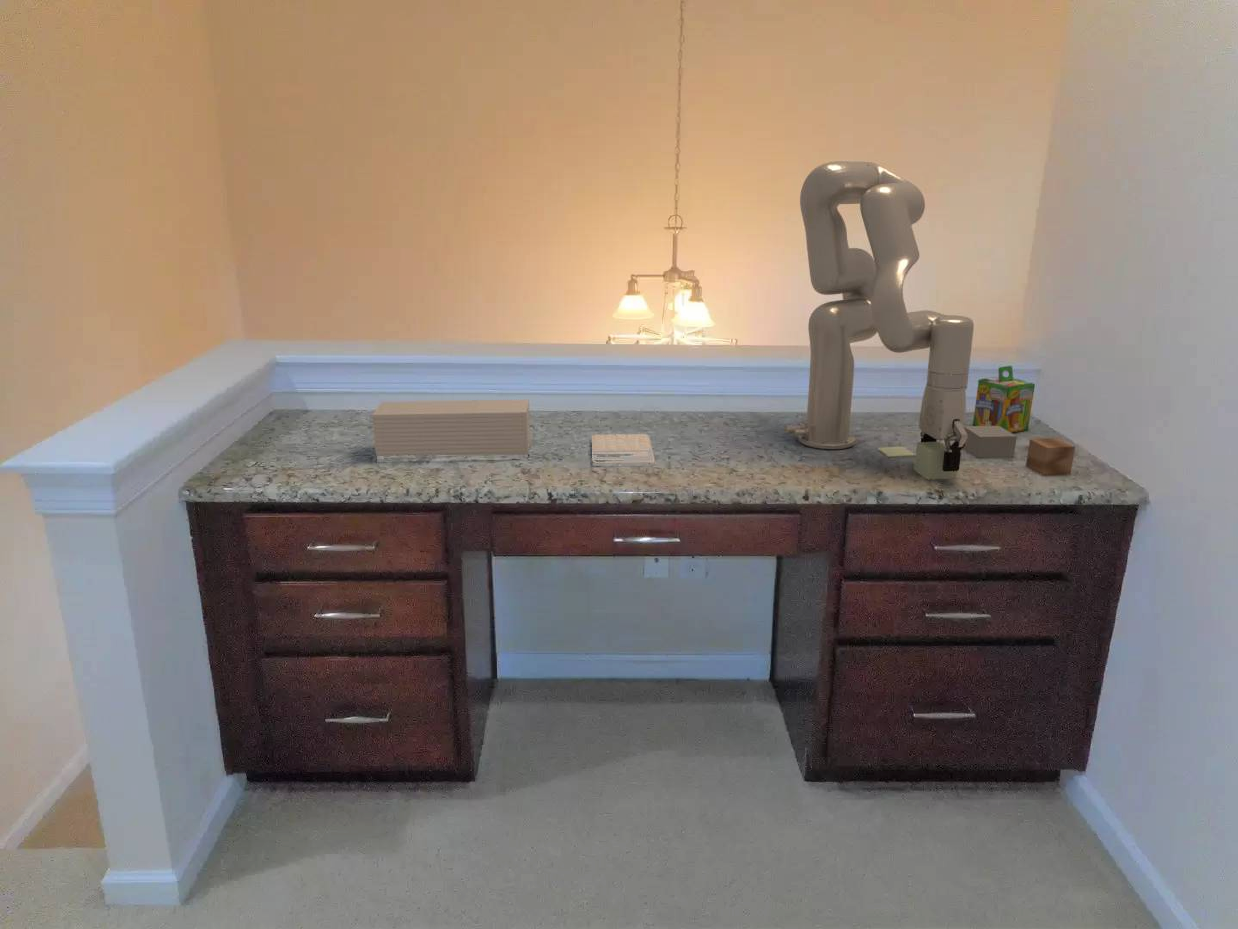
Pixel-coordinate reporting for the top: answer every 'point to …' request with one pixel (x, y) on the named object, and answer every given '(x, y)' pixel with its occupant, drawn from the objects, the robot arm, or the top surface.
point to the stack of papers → (452, 428)
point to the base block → (989, 442)
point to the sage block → (932, 461)
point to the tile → (895, 452)
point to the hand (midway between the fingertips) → (938, 463)
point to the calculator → (623, 448)
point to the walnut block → (1050, 456)
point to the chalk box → (1004, 402)
